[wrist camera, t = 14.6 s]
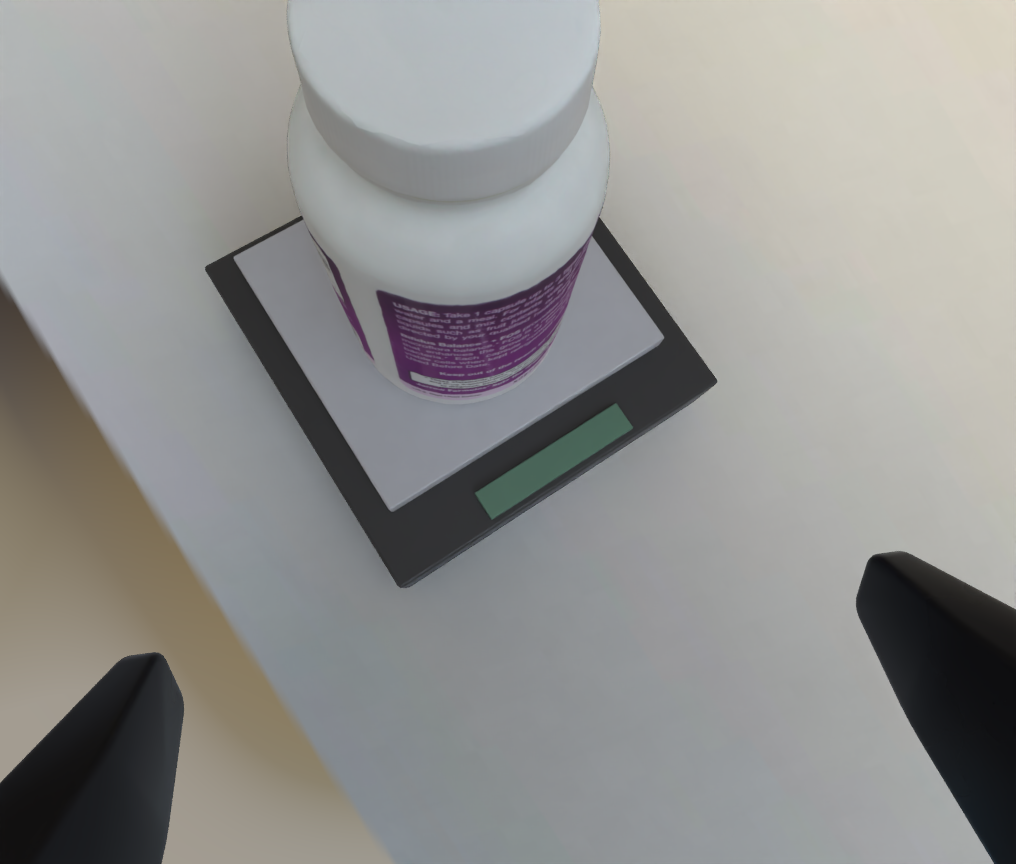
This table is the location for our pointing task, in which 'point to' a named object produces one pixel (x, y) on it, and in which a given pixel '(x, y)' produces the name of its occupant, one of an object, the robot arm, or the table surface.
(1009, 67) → the table surface
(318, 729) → the table surface
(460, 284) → the pill bottle
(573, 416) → the scale
